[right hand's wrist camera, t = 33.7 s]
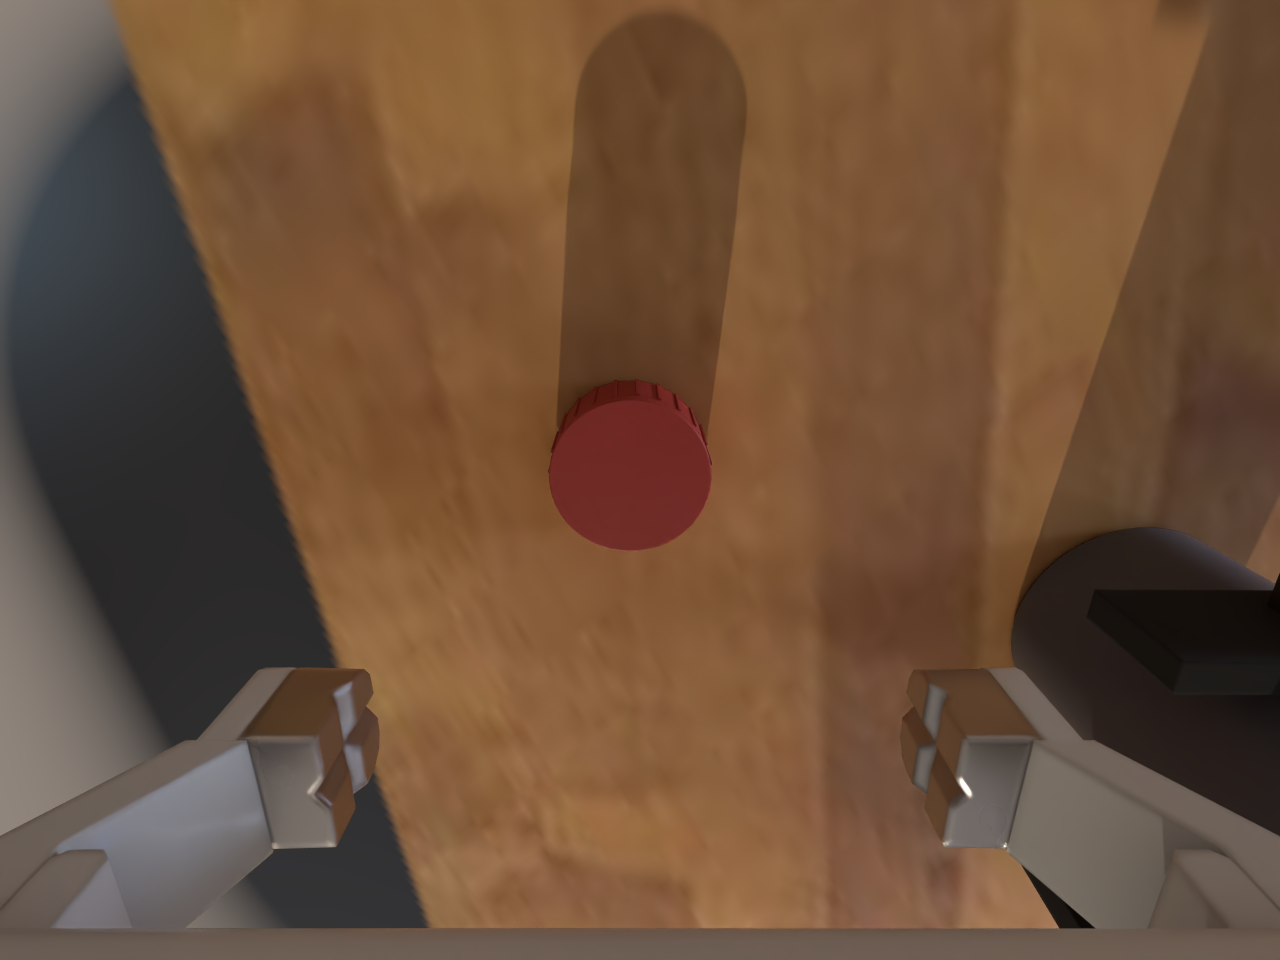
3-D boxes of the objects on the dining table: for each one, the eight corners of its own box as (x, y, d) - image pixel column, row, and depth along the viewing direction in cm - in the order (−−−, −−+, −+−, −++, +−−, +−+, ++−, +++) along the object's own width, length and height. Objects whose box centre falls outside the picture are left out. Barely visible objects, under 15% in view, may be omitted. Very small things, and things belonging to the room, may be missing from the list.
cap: (699, 369, 19) (706, 388, 17) (710, 511, 20) (719, 544, 18) (544, 387, 19) (534, 408, 17) (567, 527, 20) (561, 561, 18)
